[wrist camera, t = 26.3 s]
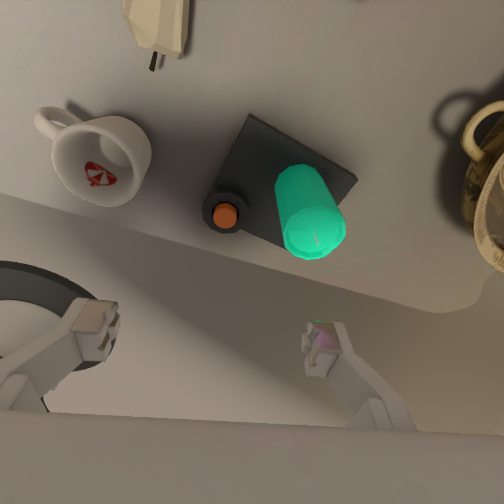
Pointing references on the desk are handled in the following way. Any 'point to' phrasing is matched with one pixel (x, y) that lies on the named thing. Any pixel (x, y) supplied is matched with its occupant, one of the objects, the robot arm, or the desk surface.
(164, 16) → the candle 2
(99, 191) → the cup
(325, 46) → the desk surface
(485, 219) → the ceramic bowl
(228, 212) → the button
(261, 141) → the scale
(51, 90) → the desk surface
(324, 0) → the desk surface
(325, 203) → the candle
